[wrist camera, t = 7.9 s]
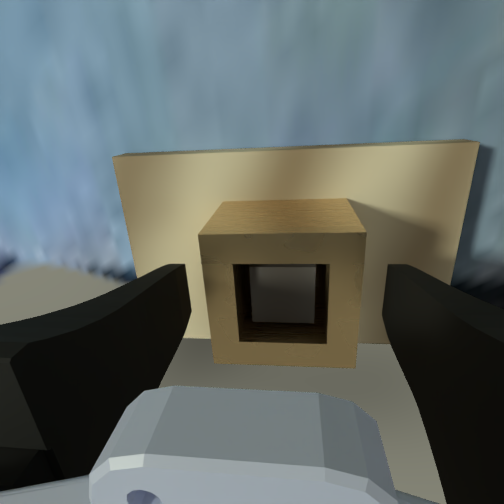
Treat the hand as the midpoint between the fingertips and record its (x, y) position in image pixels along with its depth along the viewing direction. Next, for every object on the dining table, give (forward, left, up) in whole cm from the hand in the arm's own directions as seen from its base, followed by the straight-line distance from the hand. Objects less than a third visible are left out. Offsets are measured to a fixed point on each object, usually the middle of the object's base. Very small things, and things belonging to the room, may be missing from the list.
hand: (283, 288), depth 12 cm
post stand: (0, 0, -4) cm, 4 cm away
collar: (0, 0, -3) cm, 3 cm away
